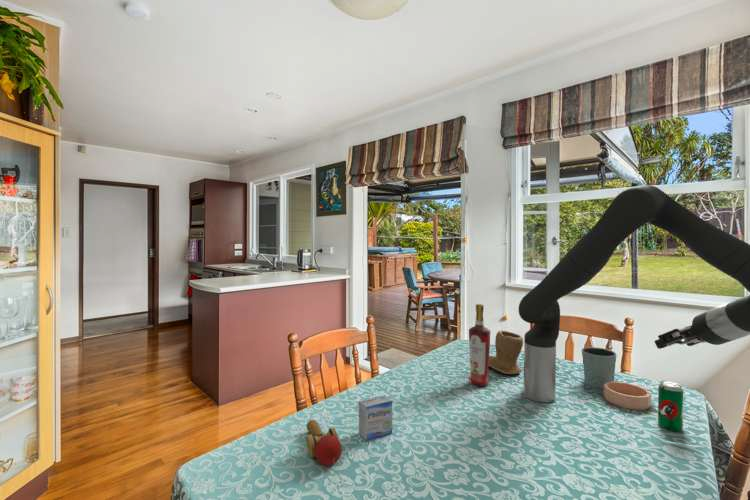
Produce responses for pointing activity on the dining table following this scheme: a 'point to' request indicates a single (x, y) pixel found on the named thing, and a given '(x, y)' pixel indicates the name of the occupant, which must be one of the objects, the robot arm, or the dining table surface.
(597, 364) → the grey-green tumbler
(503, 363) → the tan boot
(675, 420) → the soda can
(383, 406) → the medicine box
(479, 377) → the liquor
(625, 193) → the robot arm
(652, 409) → the mat
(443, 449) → the dining table surface
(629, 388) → the bowl
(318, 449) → the kendama
